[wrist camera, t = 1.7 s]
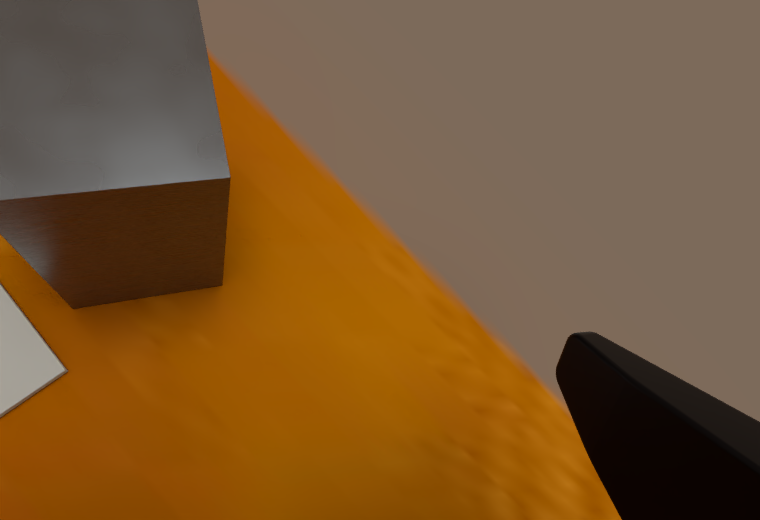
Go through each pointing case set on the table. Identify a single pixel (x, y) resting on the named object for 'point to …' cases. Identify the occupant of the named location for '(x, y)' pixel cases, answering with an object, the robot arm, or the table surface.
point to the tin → (111, 148)
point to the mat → (22, 357)
